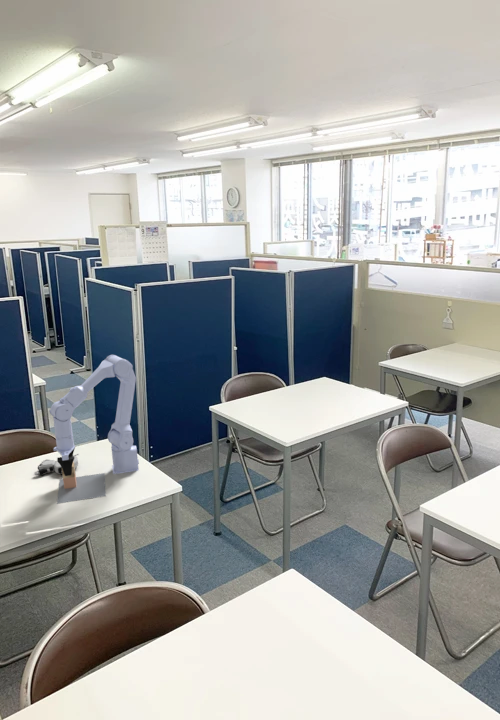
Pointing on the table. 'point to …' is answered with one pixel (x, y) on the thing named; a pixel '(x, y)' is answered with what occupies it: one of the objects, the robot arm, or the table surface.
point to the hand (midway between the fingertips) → (68, 470)
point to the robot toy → (53, 466)
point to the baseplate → (83, 488)
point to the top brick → (71, 474)
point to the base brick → (69, 482)
